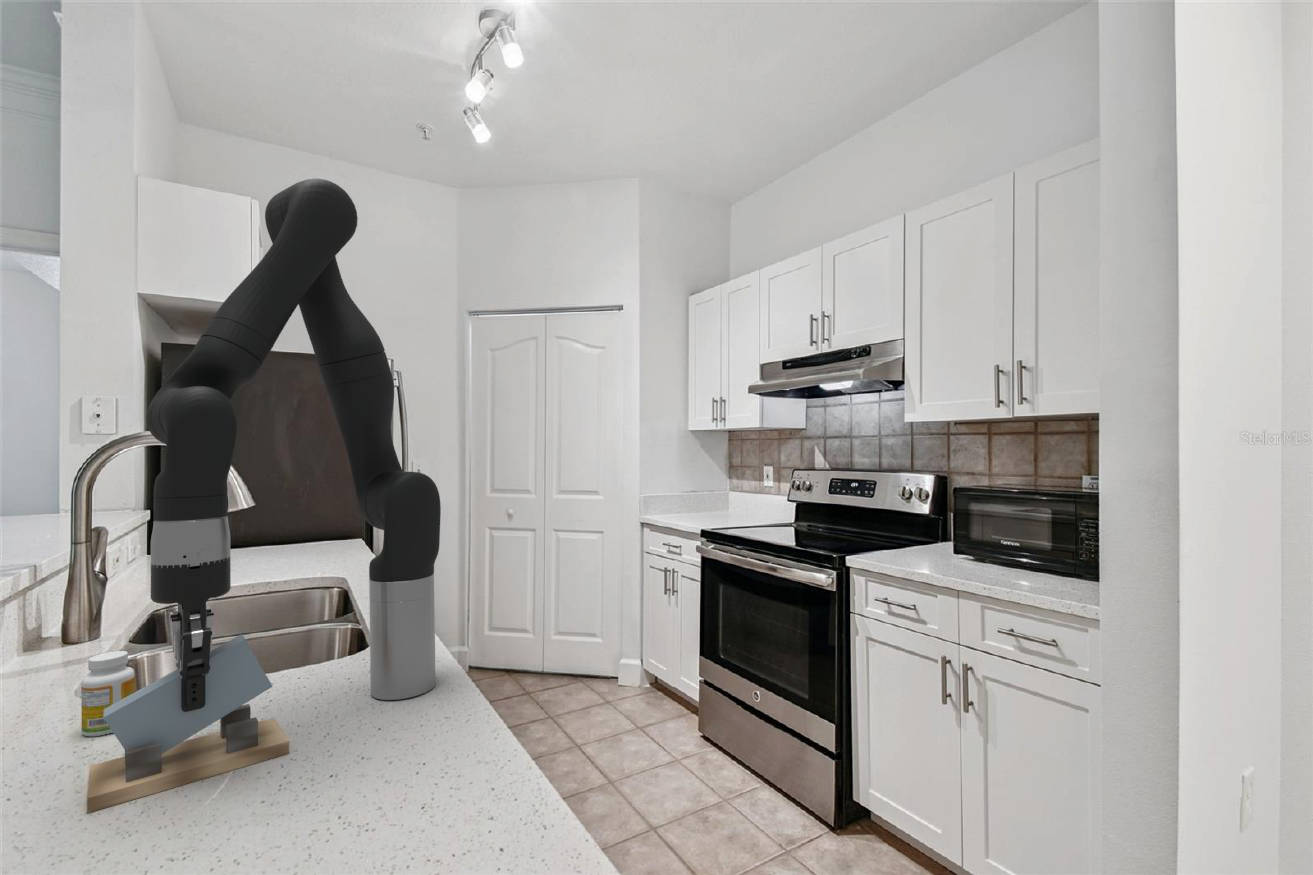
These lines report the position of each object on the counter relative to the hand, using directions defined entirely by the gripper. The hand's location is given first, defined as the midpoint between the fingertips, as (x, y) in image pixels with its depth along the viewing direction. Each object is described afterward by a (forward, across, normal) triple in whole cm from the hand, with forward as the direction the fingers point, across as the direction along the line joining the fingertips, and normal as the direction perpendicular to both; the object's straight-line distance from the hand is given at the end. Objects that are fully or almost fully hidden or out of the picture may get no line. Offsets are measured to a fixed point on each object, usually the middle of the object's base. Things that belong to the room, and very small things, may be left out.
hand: (191, 704), depth 72 cm
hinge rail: (+7, 0, 0) cm, 7 cm away
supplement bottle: (+7, -21, -7) cm, 23 cm away
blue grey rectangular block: (+2, 0, +2) cm, 3 cm away
